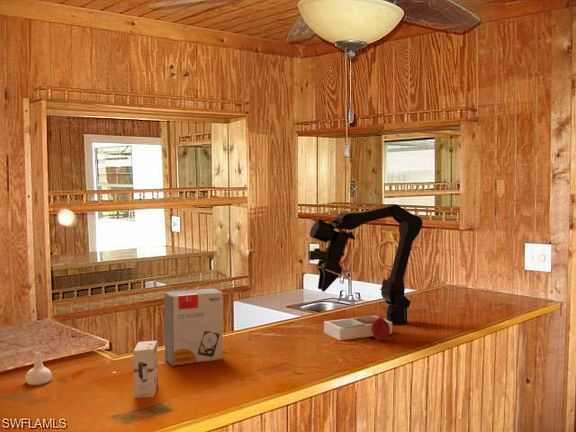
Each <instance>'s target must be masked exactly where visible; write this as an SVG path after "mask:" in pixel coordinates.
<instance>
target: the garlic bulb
mask: <svg viewBox="0 0 576 432" xmlns="http://www.w3.org/2000/svg"><path fill="white" fill-rule="evenodd" d="M24 378H25V382H26V384H28V385H30V386H40V385H45V384H46V383H47V384H48V383H49V382H50V381H51V379H52V371H51V370H50V369H49V368H48V367H46V366H44V364H43V361H42V355H41V352H40V351H37V352H35V360H34V366H33V367H32V368H31V369H29V370H28V371H27V373H26V375H25V377H24Z"/></svg>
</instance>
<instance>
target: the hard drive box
mask: <svg viewBox="0 0 576 432" xmlns="http://www.w3.org/2000/svg"><path fill="white" fill-rule="evenodd" d="M223 294H224V292H223V291H220V290H219V289H216V288H215V287H213V288H201V289H190V290H189V289H188V290H178V291H167V292H164V294H163V295H164V296H163V297H164V302H163V303H164V307H163V308H164V314H163V315H164V360H165V361H166V362H168V364H169V365H170V366H172V367H174V366H175V367H176V366H180V365H181V366H185V364H186V365H189V364H196V363H203V362H211V361H216V360H217V361H218V360H223V358H224V357H223V356H224V355H223V354H224V352H223V351H224V345H223V343H224V342H223V341H224V339H223V334H224V333H223V332H224V329H223V328H224V327H223V325H224V324H223V323H224V322H223V321H224V320H223V319H224V318H223V315H224V314H223V313H224V311H223V310H224V309H223V306H224V305H223V298H224V297H223Z"/></svg>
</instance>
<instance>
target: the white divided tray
mask: <svg viewBox="0 0 576 432" xmlns="http://www.w3.org/2000/svg"><path fill="white" fill-rule="evenodd" d="M378 317H379V316H376V315H369V316H368V315H367V316H360V317H352V318H341V319H336V320H335V319H334V320H325V321H323V333H324V334H326V335H328V336H330V337H332V338H334V339H337V340H338V341H344V340H346V341H347V340H352V339H354V340H355V339H359V338H360V339H361V338H367V337H368V338H369V337H375V336H374V335H373V334H372V330H371V327H372V324H373V323H374V322H375V321H376V320H377V319H378ZM383 319H384V320H385V321H386V322H387V323H388V325H389V327H390V332H389V335H390V334H393V324H392V322H391V321H388V320H387V319H385V318H383Z"/></svg>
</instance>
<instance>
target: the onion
mask: <svg viewBox="0 0 576 432" xmlns="http://www.w3.org/2000/svg"><path fill="white" fill-rule="evenodd" d="M377 317H378V319H377V320H376V321H375V322H374V323H373V324H372V327H371V330H372V334H373V335H374V336H373V337H375V338H376V339H377V340H378V341H379V342H380V341H381V342H382V341H383V340H384V339H386V338H387V337H388V336H389V335H390V334H389V332H390V327H389V325H388V323H387V322H386V321H385V320H386V319H385V318H383V317H382V315H378V316H377ZM384 319H385V320H384Z"/></svg>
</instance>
